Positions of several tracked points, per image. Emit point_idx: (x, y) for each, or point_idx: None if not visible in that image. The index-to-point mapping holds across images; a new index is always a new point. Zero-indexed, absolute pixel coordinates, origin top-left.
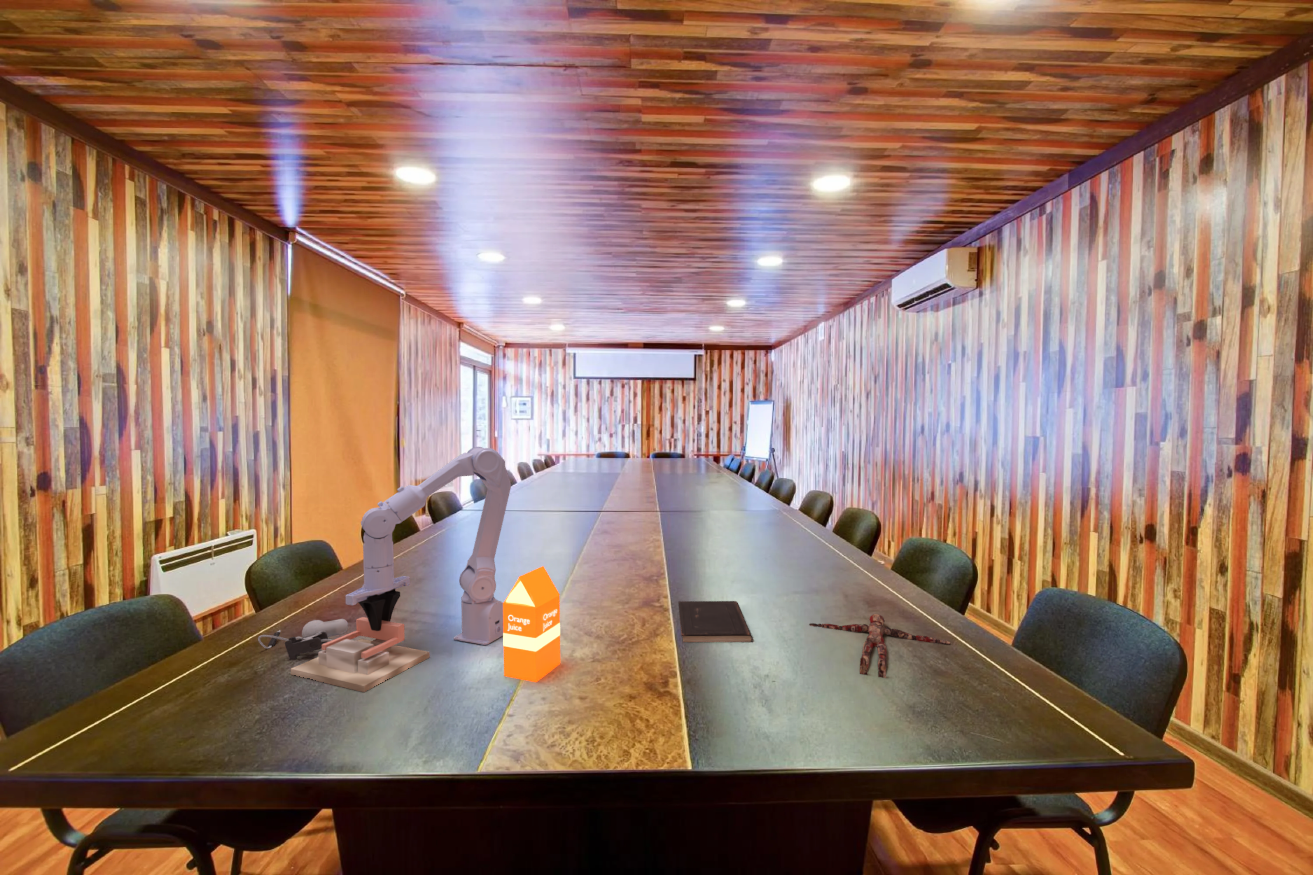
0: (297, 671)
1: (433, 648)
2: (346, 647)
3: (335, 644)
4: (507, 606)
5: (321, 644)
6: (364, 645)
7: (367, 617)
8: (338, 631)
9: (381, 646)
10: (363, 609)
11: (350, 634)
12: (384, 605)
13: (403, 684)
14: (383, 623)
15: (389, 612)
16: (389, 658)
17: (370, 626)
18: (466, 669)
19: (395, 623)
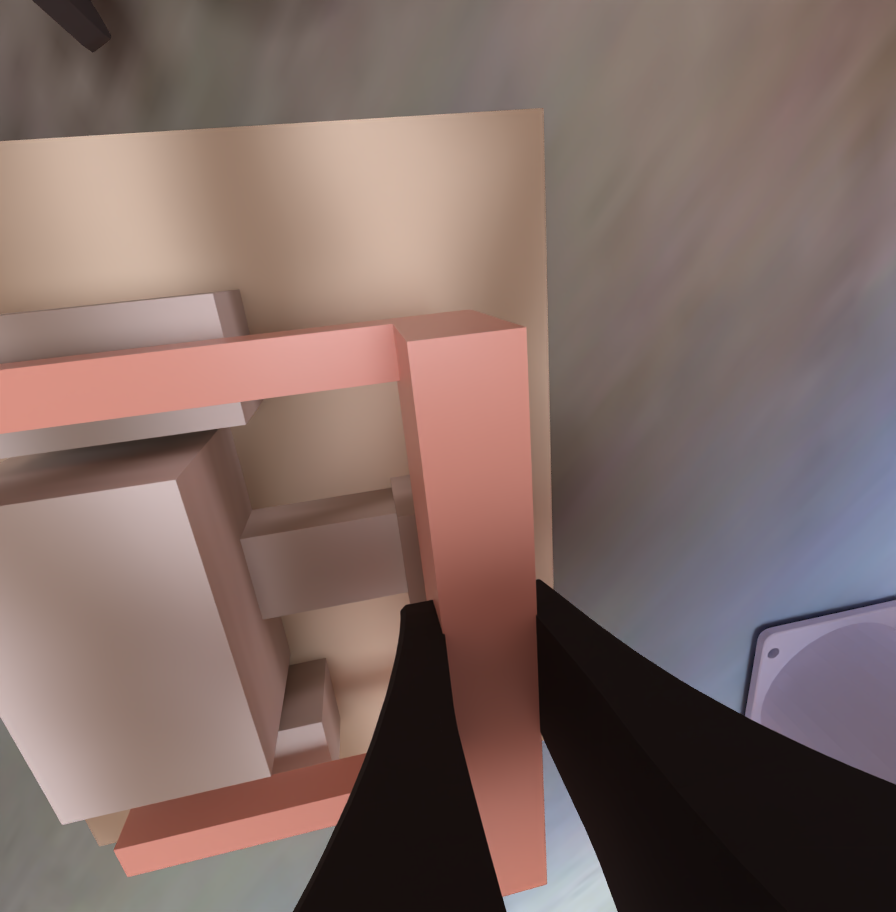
0: None
1: (638, 636)
2: (69, 680)
3: (11, 527)
4: None
5: (76, 32)
6: (208, 749)
7: (381, 711)
8: None
9: (292, 829)
10: (321, 859)
11: (276, 387)
12: (644, 896)
13: (284, 852)
14: (473, 754)
15: (595, 844)
16: (391, 657)
17: (400, 626)
18: (515, 894)
19: (524, 829)
